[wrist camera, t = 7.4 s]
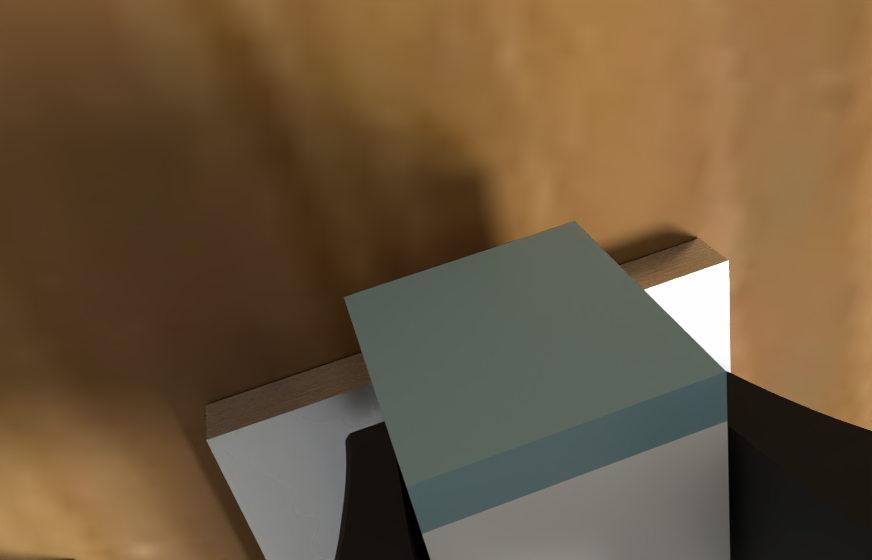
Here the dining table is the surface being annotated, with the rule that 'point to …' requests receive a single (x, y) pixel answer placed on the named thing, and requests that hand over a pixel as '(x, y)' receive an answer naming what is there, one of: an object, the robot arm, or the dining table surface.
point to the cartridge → (548, 408)
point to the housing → (358, 408)
